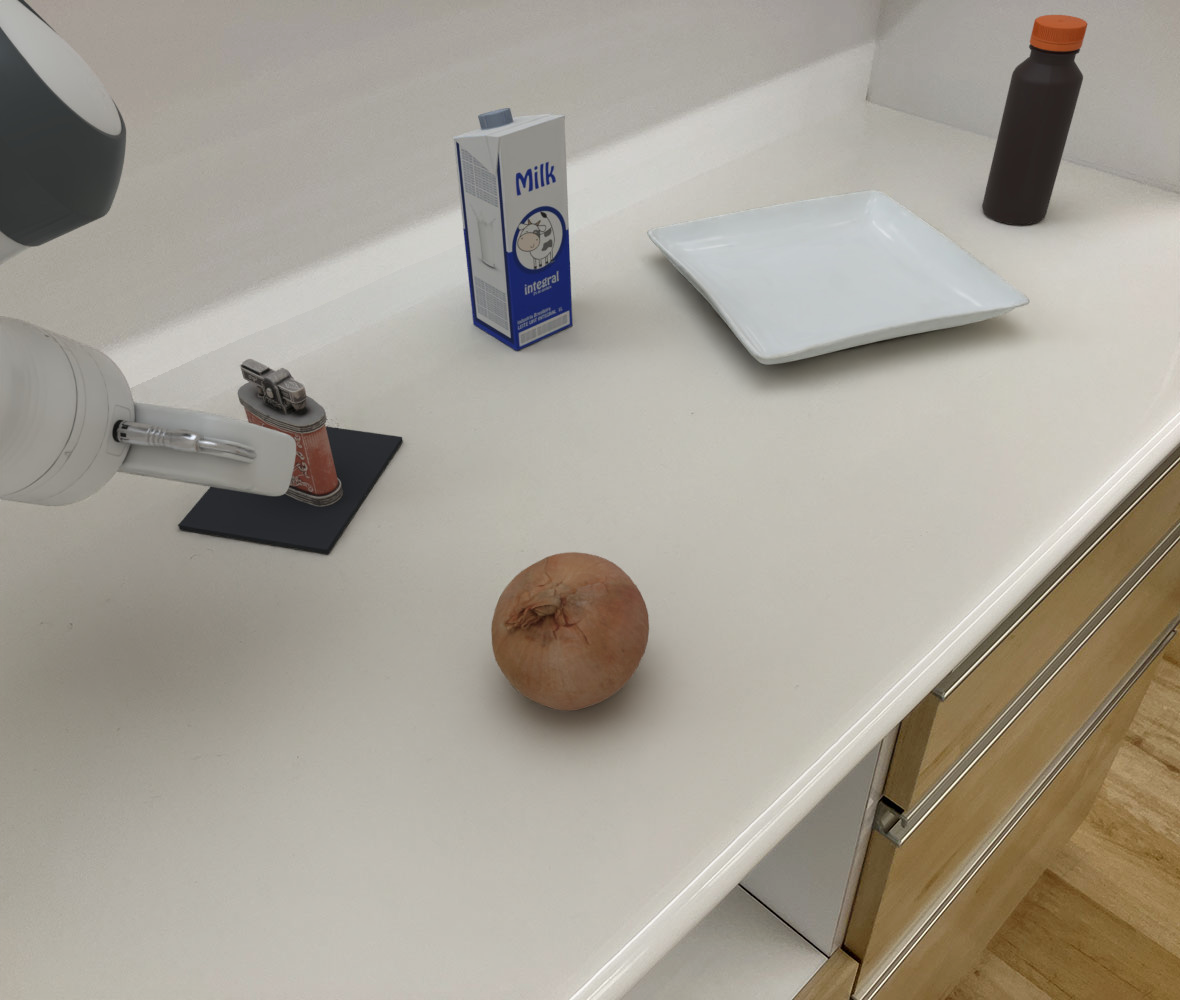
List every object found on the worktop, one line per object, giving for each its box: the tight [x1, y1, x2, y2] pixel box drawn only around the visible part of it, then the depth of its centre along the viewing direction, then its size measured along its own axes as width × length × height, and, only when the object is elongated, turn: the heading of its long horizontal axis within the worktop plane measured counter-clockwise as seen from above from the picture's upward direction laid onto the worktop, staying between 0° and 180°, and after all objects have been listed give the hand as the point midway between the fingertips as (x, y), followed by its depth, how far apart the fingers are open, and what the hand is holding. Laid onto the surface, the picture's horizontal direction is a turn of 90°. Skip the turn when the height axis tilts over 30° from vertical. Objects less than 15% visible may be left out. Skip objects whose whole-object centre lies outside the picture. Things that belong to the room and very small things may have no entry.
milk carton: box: [452, 107, 573, 352], centre depth 93 cm, size 7×7×20 cm
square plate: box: [646, 189, 1030, 366], centre depth 101 cm, size 27×27×4 cm
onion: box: [490, 551, 650, 711], centre depth 63 cm, size 10×9×10 cm
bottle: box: [981, 14, 1088, 226], centre depth 109 cm, size 7×7×20 cm
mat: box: [177, 425, 404, 555], centre depth 81 cm, size 12×14×1 cm
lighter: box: [237, 358, 343, 507], centre depth 77 cm, size 8×3×10 cm, turn 53°
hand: (190, 457), depth 67 cm, fingers open, 8 cm apart
